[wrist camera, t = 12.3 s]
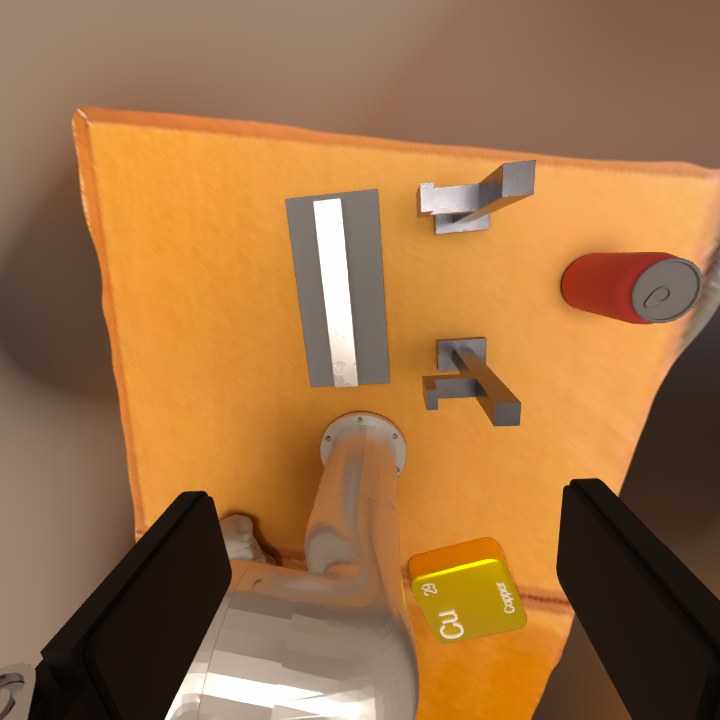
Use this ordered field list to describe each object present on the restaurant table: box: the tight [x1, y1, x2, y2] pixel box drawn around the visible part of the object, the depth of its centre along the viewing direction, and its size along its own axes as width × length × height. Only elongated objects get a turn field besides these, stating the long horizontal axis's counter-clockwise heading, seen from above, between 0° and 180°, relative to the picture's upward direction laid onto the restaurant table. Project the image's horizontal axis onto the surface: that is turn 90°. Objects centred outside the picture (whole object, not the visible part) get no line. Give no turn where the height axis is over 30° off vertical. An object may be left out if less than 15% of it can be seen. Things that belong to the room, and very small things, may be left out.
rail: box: [313, 199, 360, 388], centre depth 41 cm, size 22×3×3 cm, turn 5°
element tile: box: [409, 538, 527, 644], centre depth 53 cm, size 15×15×5 cm
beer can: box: [562, 252, 703, 324], centre depth 34 cm, size 7×7×12 cm
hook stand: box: [416, 160, 536, 426], centre depth 33 cm, size 21×9×18 cm, turn 5°
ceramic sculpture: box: [219, 514, 278, 566], centre depth 52 cm, size 11×9×15 cm
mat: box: [285, 189, 390, 387], centre depth 43 cm, size 24×11×1 cm, turn 5°
